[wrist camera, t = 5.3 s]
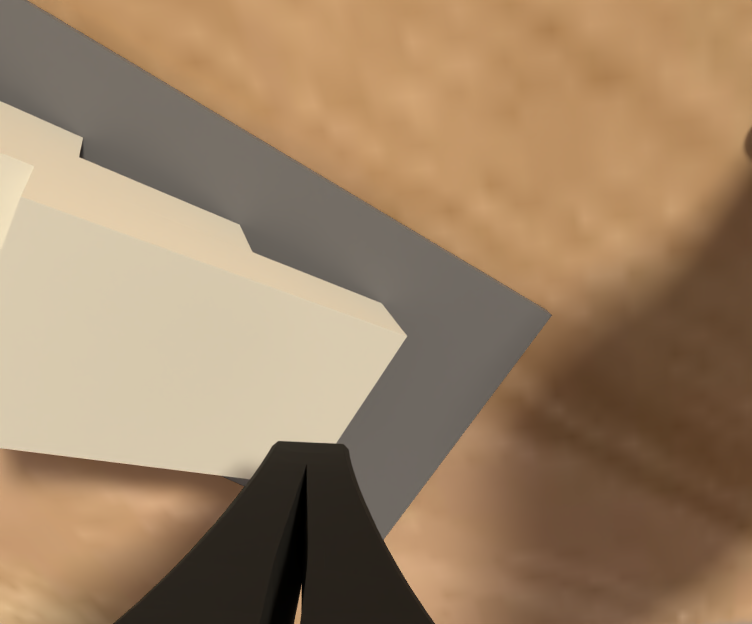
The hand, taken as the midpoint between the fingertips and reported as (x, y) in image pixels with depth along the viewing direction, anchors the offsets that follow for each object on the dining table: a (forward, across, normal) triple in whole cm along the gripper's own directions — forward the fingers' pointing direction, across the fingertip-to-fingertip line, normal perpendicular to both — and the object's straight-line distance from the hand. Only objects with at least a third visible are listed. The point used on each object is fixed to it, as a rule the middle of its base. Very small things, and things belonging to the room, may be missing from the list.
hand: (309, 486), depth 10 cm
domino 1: (+4, -1, 0) cm, 4 cm away
